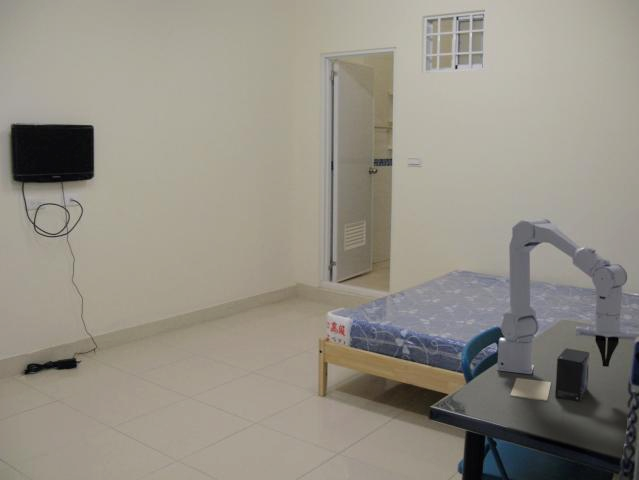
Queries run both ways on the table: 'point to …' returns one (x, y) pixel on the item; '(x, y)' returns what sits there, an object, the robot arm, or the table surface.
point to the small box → (572, 374)
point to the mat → (531, 389)
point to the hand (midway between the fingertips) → (605, 365)
